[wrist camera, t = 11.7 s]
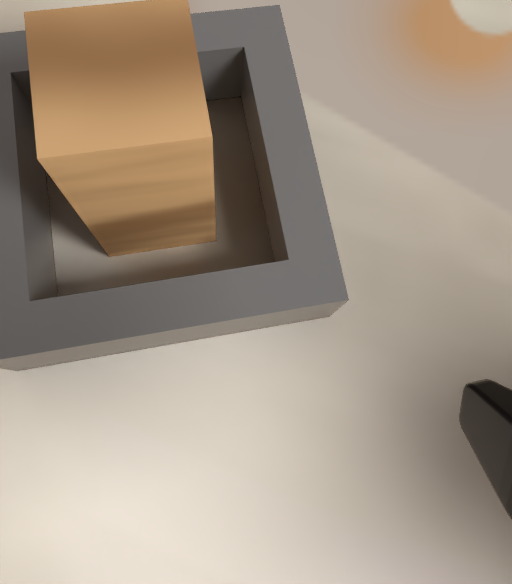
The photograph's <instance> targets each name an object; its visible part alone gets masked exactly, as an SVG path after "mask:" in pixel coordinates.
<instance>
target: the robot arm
mask: <svg viewBox="0 0 512 584" xmlns="http://www.w3.org/2000/svg"><path fill="white" fill-rule="evenodd" d="M459 419H460V425H461V428H462V430H463V432H464V434H465V436H466V438H467V439H468V441H469V443H470V445H471V447H472V449H473V451H474V453H475V454H476V456H477V458H478V460H479V462H480V464H481V466H482V468H483V470H484V471H485V473H486V475H487V477H488V479H489V481H490V483H491V485H492V486H493V488H494V490H495V492H496V494H497V496H498V498H499V499H500V501H501V503H502V505H503V506H504V508H505V510H506V511H507V513H508V514H509V516H510V518H511V519H512V390H511V389H509V388H507V387H504V386H502V385H500V384H498V383H496V382H494V381H492V380H488V379H484V380H480V381H476V382H471V383H468V384H466V386H465V387H464V389H463V395H462V401H461V408H460V414H459Z"/></svg>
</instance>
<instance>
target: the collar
mask: <svg viewBox="0 0 512 584" xmlns="http://www.w3.org/2000/svg"><path fill="white" fill-rule="evenodd" d="M190 15H191V21H192V26H193V32H194V37H195V43H196V48H197V54H198V59H199V65H200V70H201V76H202V81H203V87H204V92H205V98H206V101H207V100H216V99H224V98H232V97H240V96H241V98H242V103H243V108H244V112H245V117H246V122H247V127H248V132H249V137H250V142H251V147H252V152H253V157H254V162H255V167H256V172H257V177H258V181H259V186H260V191H261V196H262V201H263V206H264V211H265V216H266V221H267V226H268V231H269V236H270V241H271V245H272V250H273V255H274V260H275V262H272V263H265V264H259V265H253V266H247V267H240V268H234V269H228V270H222V271H215V272H209V273H203V274H197V275H190V276H184V277H178V278H172V279H165V280H159V281H153V282H147V283H140V284H134V285H128V286H122V287H115V288H109V289H103V290H97V291H90V292H84V293H78V294H72V295H65V296H59V297H58V294H57V283H56V273H55V263H54V252H53V242H52V232H51V221H50V211H49V201H48V190H47V180H46V170H45V169H44V167H43V166H42V165H41V163H40V162H39V161H38V159H37V151H36V140H35V129H34V118H33V107H32V96H31V85H30V73H29V62H28V51H27V40H26V31H17V32H7V33H0V368H3V369H9V370H14V371H20V370H26V369H31V368H37V367H43V366H48V365H54V364H60V363H66V362H71V361H77V360H83V359H89V358H94V357H100V356H106V355H112V354H117V353H123V352H129V351H134V350H140V349H146V348H152V347H157V346H163V345H169V344H175V343H180V342H186V341H192V340H198V339H203V338H209V337H215V336H220V335H226V334H232V333H238V332H243V331H249V330H255V329H261V328H266V327H272V326H278V325H284V324H289V323H295V322H301V321H306V320H312V319H318V318H324V317H329V316H331V315H332V314H333V313H334V312H335V311H336V310H338V309H339V308H340V307H341V306H342V305H343V304H344V303H346V302H347V301H348V300H349V299H348V295H347V291H346V286H345V282H344V278H343V274H342V269H341V265H340V261H339V257H338V252H337V248H336V244H335V240H334V235H333V231H332V227H331V222H330V218H329V214H328V210H327V205H326V201H325V197H324V193H323V188H322V184H321V180H320V176H319V171H318V167H317V163H316V158H315V154H314V150H313V146H312V141H311V137H310V133H309V129H308V124H307V120H306V116H305V112H304V107H303V103H302V99H301V94H300V90H299V86H298V82H297V77H296V73H295V69H294V65H293V60H292V56H291V52H290V48H289V43H288V39H287V35H286V31H285V27H284V22H283V18H282V13H281V9H280V5H275V6H265V7H254V8H244V9H235V10H225V11H215V12H205V13H195V14H190Z"/></svg>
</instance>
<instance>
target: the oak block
mask: <svg viewBox="0 0 512 584" xmlns="http://www.w3.org/2000/svg"><path fill="white" fill-rule="evenodd" d="M24 18H25V29H26V40H27V51H28V62H29V73H30V85H31V96H32V107H33V118H34V129H35V140H36V151H37V159H38V161H39V162H40V163H41V165H42V166H43V167H44V169H45V170H46V172H47V173H48V174H49V176H50V177H51V178H52V180H53V181H54V182H55V184H56V185H57V186H58V188H59V189H60V191H61V192H62V193H63V195H64V196H65V197H66V199H67V200H68V201H69V203H70V204H71V205H72V207H73V208H74V210H75V211H76V212H77V214H78V215H79V216H80V218H81V219H82V220H83V222H84V223H85V224H86V226H87V227H88V229H89V230H90V231H91V233H92V234H93V235H94V237H95V238H96V239H97V241H98V242H99V243H100V245H101V246H102V248H103V249H104V250H105V252H106V253H107V254H108V256H109V257H112V256H118V255H125V254H132V253H138V252H145V251H152V250H158V249H165V248H171V247H178V246H185V245H191V244H198V243H205V242H211V241H216V220H215V192H214V164H213V136H212V131H211V125H210V120H209V114H208V109H207V103H206V98H205V92H204V87H203V81H202V76H201V70H200V65H199V59H198V54H197V48H196V43H195V37H194V32H193V26H192V21H191V15H190V10H189V4H188V0H146V1H135V2H125V3H114V4H104V5H93V6H83V7H72V8H62V9H51V10H40V11H30V12H24Z"/></svg>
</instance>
